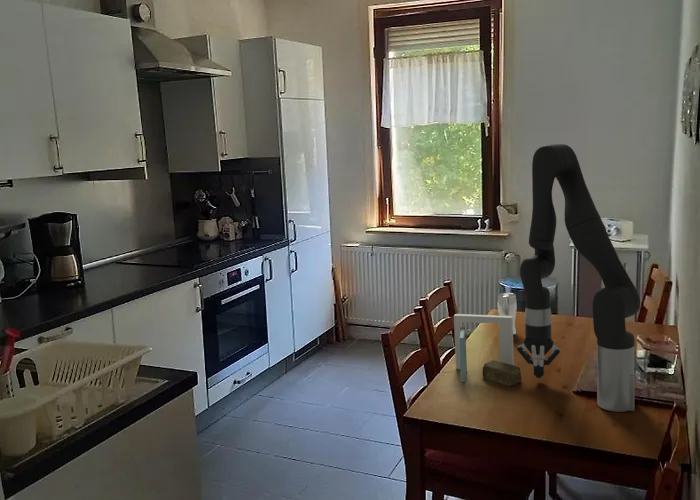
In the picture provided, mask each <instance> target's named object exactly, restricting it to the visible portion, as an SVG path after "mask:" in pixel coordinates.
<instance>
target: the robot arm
mask: <svg viewBox="0 0 700 500" xmlns="http://www.w3.org/2000/svg"><path fill="white" fill-rule="evenodd" d="M531 164H532V165H531V174H532V175H531V176H532V177H531V179H532V181H531V182H532V184H531V186H532V189H531V190H532V211H531V212H532V213H531V222H530V228H529V234H528V235H529V236H528V244H529V245H528V246H529V247H531V248H533V249H534V255H533V256H529V257H526V258H525V259H523V260H522V262H521V264H520V266H519V276H520V279H521V283H522V284H521V285H522V286H523V287H522V288H523V291H524V294H525V295H524V296H525V311H524V329H525V330H524V332H525V334H524V335H525V338H524V340H523V343H522V344H519V345H518V346H517V348H516V350H517V352H518V353H519V355H521V357H522V358H523V359H524V360H525V361H526V362H527V364H530V365H532V366H533V376H534V377H535V378H536V379H542V377H544V374H545V366H549V365H551V363H552V362H553V361H554V360H555V358H557V357H558V355H559V354H560V352H561V348H560V347H559V346H556V345H555V344H554V341H553V338H552V337H553V336H552V321H553V319H552V311H551V293H550V289H549V288H548V287H546V286H543V283H542V279H546V278H548V277H549V276H551V275H552V274H553V272H554V270H555V267H556V256H555V247H554V246H555V245H554V243H555V238H556V237H555V236H556V230H557V214H556V210H555V206H554V201H553V185H554V182H555V179H556V180H557V182H558V184H559V187H560V188H561V191H562V193H563V197H564V225H565V228H566V230H567V231H566V232H568V235H569V237H570V240H571V242H572V244H573V246H574V248H575V249H576V251H577V252H578V253H579V254H580V255H581V257H583V258H585V260H587V261H586V262H589V264H590V265H591V266H592V267H593V268H594V269H595V270H596V271H597V273H598V275H599V277H600V279H601V281H602V283H603V287H602V288H600V289H598V290H597V291H596V292H595V294H594V296H593V299H592V320H593V321H592V324H593V331H594V332H593V333H594V336H595V337H596V375H597V376H596V378H597V379H596V384H597V385H596V388H597V389H596V391H597V393H596V398H597V400H596V401H597V406H598V407H599V408H601V409H602V410H606V411H610V412H617V413H624V412H628V411H629V412H635V336H634V334H633V333H632V332H630V331H627V329H626V328H627V327H626V319H627V318H630V317H632V316H634V315H636V314H637V313H638V312H639V311H640V307H641V297H640V295H639V292H638V290H637V288H636V287H635V285H634V283H633V281H632V279H631V277H630V276H629V274H628V273H627V271H626V269H625V268H624V266H623V264H622V262H621V260H620V258H619V256H618V253H617V251H616V248H614V245H613V243H612V241H611V239H610V236H609V234H608V231H607V228H606V227H605V225H604V222H603V219H602V218H601V216H600V214H599V212H598V210H597V207H596V205H595V202H594V200H593V197H592V195H591V193H590V192H589V191H590V190H589V189H588V187H587V184H586V180H585V179H584V175H583V172H582V168H581V166H580V162H579V160H578V157H577V154H576V152H575V151H574V150H573V148H572V147H571V146H569V145H567V144H564V143H557V144H556V143H555V144H554V143H553V144H545V145H542V146H539V147H538V148H537V149H536V150H535V152H534V153H533V156H532V162H531ZM550 350H551V354H550V355H549V356H548V357H547V358H546V355H547V354H548V353H549V352H550ZM528 351H529V353H530V354H531V355H532V356H531V355H530V354H529V353H528ZM545 358H546V359H545Z"/></svg>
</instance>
